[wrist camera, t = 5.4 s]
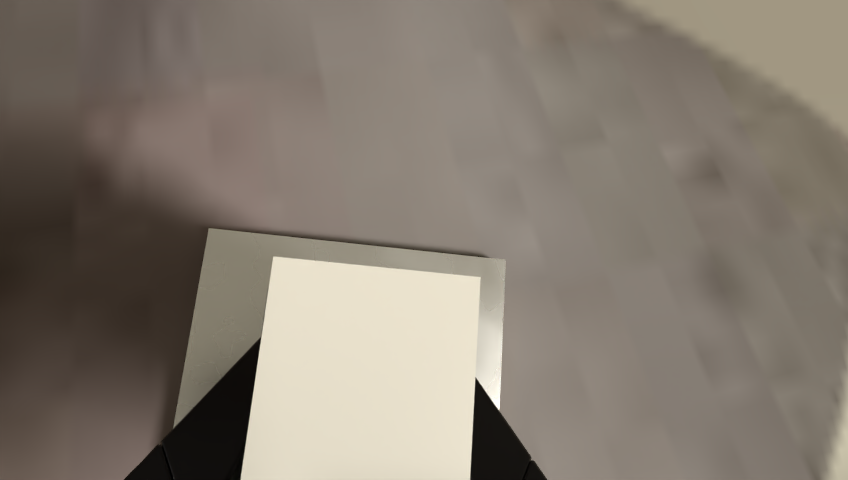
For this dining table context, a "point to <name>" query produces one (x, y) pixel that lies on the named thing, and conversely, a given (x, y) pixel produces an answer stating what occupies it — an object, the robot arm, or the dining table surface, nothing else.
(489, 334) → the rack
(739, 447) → the dining table surface
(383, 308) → the cream rectangular block
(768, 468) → the dining table surface
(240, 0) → the dining table surface
